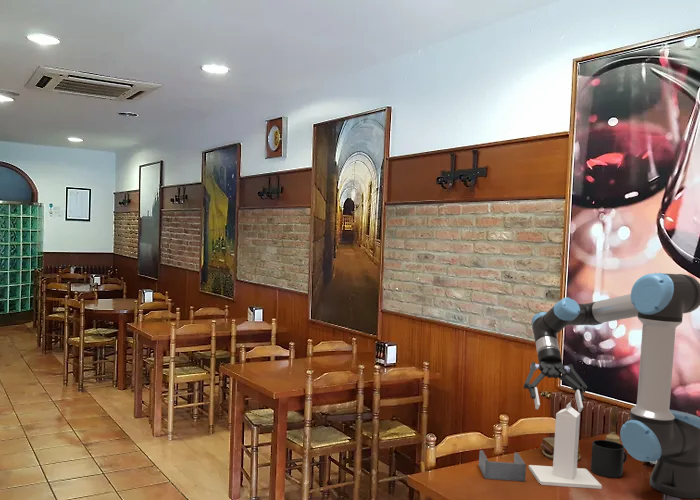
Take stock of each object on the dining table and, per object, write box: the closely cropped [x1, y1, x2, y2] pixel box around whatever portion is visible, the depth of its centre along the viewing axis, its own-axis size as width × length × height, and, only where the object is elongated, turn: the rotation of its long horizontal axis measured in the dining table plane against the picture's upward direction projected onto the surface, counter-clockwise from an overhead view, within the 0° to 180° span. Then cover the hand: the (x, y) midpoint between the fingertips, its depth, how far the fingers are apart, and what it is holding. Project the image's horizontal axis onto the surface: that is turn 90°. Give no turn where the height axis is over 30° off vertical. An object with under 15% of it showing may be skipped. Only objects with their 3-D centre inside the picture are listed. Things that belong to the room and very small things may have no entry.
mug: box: [590, 439, 628, 479], centre depth 202 cm, size 9×12×9 cm
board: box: [528, 464, 603, 490], centre depth 195 cm, size 18×14×1 cm
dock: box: [478, 449, 527, 482], centre depth 196 cm, size 12×11×5 cm
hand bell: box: [605, 405, 621, 444], centre depth 224 cm, size 8×8×16 cm
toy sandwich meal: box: [539, 436, 582, 462], centre depth 216 cm, size 12×14×5 cm
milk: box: [552, 401, 581, 480], centre depth 195 cm, size 6×6×22 cm
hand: (559, 408), depth 202 cm, fingers open, 13 cm apart
